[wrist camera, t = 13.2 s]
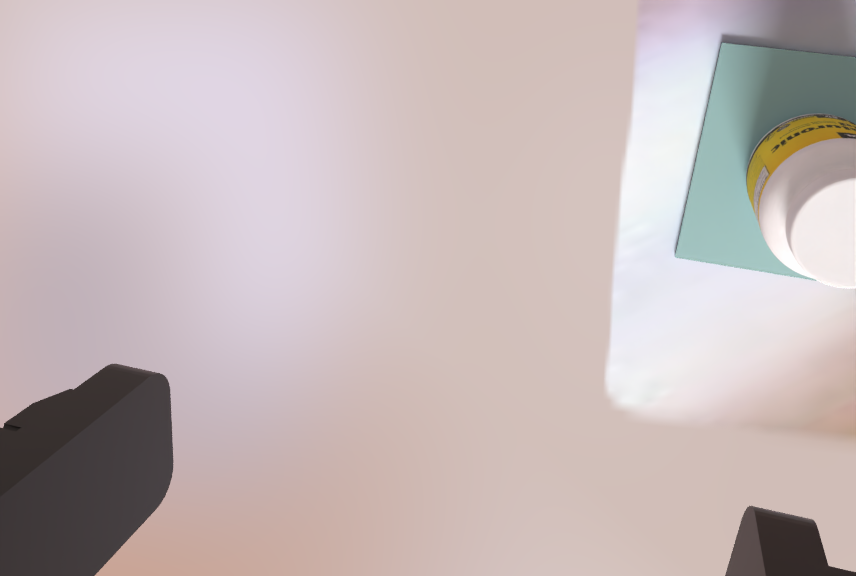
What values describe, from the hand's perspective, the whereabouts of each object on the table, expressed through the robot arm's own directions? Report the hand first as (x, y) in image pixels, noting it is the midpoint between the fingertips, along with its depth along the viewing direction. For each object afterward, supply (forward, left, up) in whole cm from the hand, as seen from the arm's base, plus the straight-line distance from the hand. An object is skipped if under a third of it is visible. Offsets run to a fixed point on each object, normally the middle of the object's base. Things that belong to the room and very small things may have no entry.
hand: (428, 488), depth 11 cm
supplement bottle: (+1, +10, -30) cm, 32 cm away
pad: (+1, +9, -30) cm, 31 cm away
